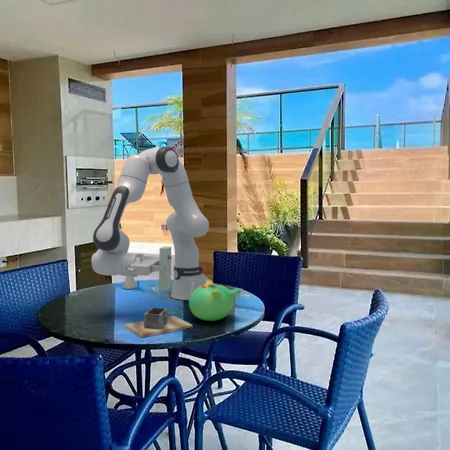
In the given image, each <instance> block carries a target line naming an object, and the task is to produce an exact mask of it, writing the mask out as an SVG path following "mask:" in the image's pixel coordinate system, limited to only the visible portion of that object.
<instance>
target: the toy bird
mask: <svg viewBox="0 0 450 450" xmlns="http://www.w3.org/2000/svg"><path fill="white" fill-rule="evenodd" d="M211 281H212V280H211ZM211 281H206V284H204V285H201V286H199V287H198V288H196V289H195V290H194V291H193V293H192V294H191V296H190V299H189V300H188V306H189V307H188V308H189V310H190V311H191V313H192V314H193V316H194V317H196V318H198V319H200V320H202V321H206V322H214V321H219V320H221V319H224V318H225V317H227V316H228V315H229V314H230V312H231V311H232V309H233V307H234V303H235V301H234V300H235V299H234V298H235V297H237V296H238V295H240V294H241V293H242V292H243V289H244V288H235V289H229V288H228V287H226V286H225V285H222V284H219V283H214V282H213V281H212V282H213V283H212V282H211Z"/></svg>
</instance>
